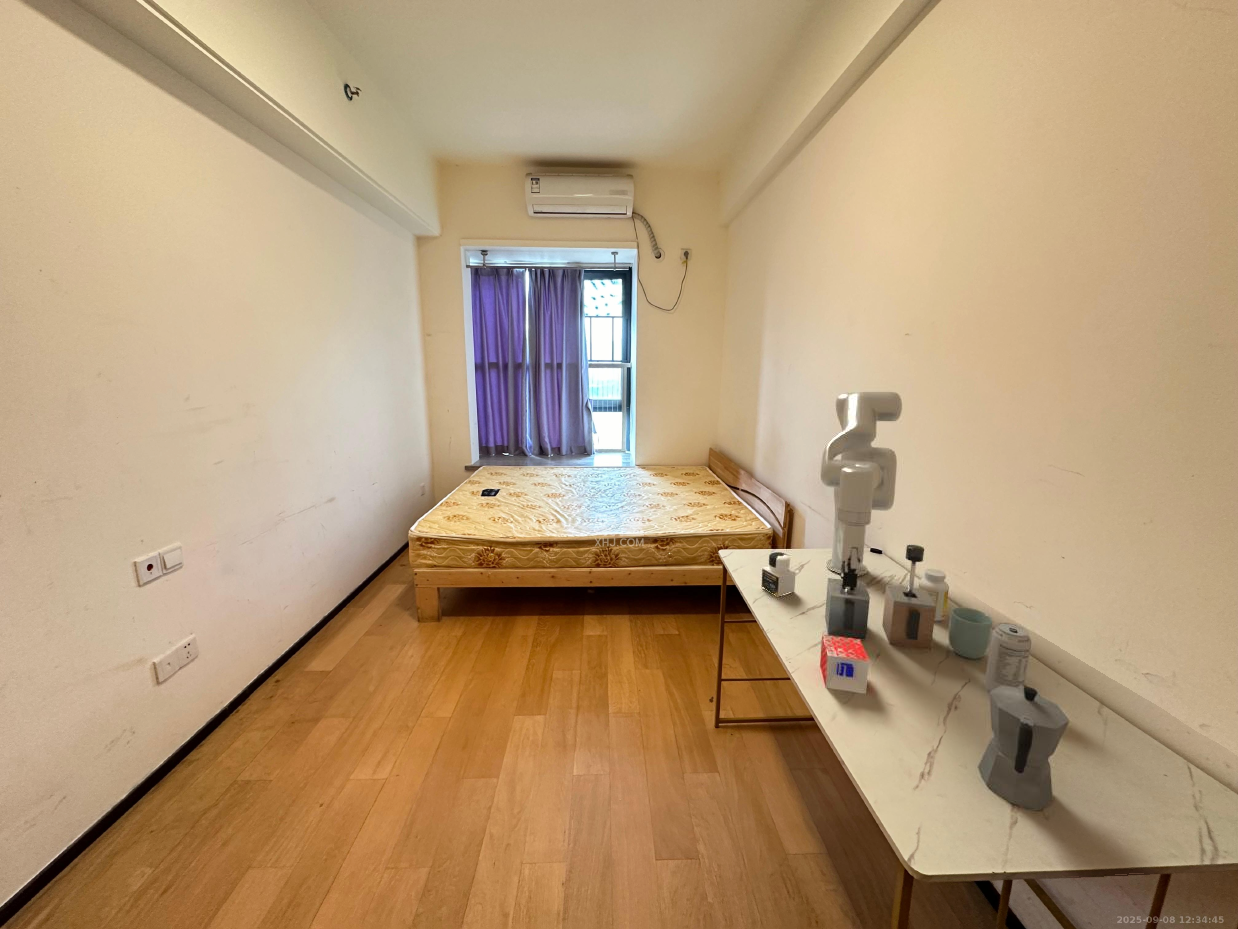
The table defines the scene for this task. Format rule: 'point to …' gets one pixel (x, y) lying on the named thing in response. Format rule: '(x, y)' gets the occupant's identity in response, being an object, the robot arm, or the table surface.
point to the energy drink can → (1007, 656)
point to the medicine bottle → (778, 575)
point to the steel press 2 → (908, 617)
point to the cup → (969, 632)
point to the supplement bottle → (936, 590)
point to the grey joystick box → (847, 610)
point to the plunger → (913, 563)
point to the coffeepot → (1022, 745)
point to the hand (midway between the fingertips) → (848, 582)
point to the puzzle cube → (844, 664)
